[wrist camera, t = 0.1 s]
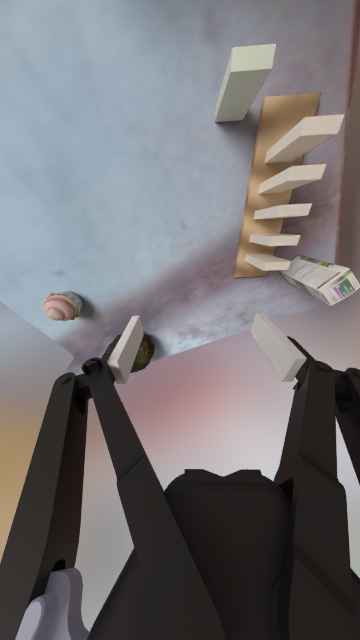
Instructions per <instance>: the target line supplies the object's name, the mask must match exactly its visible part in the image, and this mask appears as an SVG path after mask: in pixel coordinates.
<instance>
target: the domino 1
mask: <svg viewBox="0 0 360 640" xmlns="http://www.w3.org/2000/svg"><path fill="white" fill-rule="evenodd" d="M275 47H276V44H267V45H255V46H244V47H233V48H232V52H231V55H230V59H229V62H228V66H227V69H226V73H225V77H224V80H223V84H222V87H221V91H220V94H219V98H218V101H217V105H216V111H215V122H225V121H239V120H243V119H244V117H245V115H246V113H247V112H248V110H249V108H250V106H251V104H252V103H253V101H254V99H255V97H256V96H257V94H258V92H259V90H260V89H261V87H262V85H263V83H264V81H265V80H266V78H267V76H268V74H269V73H270V71H271V69H272V65H273V59H274V53H275Z"/></svg>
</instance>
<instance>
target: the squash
mask: <svg viewBox="0 0 360 640" xmlns="http://www.w3.org/2000/svg"><path fill="white" fill-rule="evenodd" d="M121 336H122V334H120V335H118V336H117V337H116V338H115V339H114V340H113V341H119V340H120V338H121ZM153 354H154V344H153V343H152V342H151V341H150V340H149V337H148V336H147V335H143V338H142V341H141V343H140V346H139V349H138V352H137V355H136V357H135V360H134V363H133V366H132V369H131V371H130V373H132V372H137V371H139V370H143V369H144V368H145V367H146V366H147V365H148V364H149V362H150V359H151V358H152V356H153Z"/></svg>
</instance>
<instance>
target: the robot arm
mask: <svg viewBox="0 0 360 640" xmlns="http://www.w3.org/2000/svg"><path fill="white" fill-rule="evenodd" d="M250 332H251V334H252V335H253V337H254V339H255V340H256V342H257V343H258V345H259V346H260V348H261V349H262V351H263V352H264V354H265V355H266V357H267V359H268V360H269V362H270V363H271V364H272V366H273V368H274V369H275V371H276V372H277V374H278V375H279V377H280V378H281V380H282V381H283V382H285V381H293V379H294V378H295V377H296V379H297V380H298V382H297V383H296V385H295V386H294V388H293V389H295V393H294V398H293V403H292V408H291V412H290V417H289V422H288V427H287V432H286V437H285V441H284V446H283V451H282V456H281V461H280V465H279V469H278V471H277V473H276V475H275V478H274V482H273V481H272V480H270V479H268V478H267V477H265V476H263V475H262V474H261V471H260V470H239V471H237V472H234V473H232V474H229V475H227V476H224V477H222V476H219V475H217V474H214V473H211V472H209V471H206V470H203V469H185V473H184V474H182V475H180V476H179V477H176V478H175V479H174V480H173V481H172V482H171V483H170V484H169V485H168V487H167V488H166V489H165V491H163V488H162V486H161V485H160V482H159V480H158V478H157V476H156V474H155V472H154V470H153V468H152V465H151V463H150V461H149V459H148V457H147V455H146V453H145V451H144V448H143V446H142V444H141V442H140V440H139V438H138V436H137V433H136V431H135V429H134V427H133V425H132V423H131V421H130V418H129V416H128V414H127V412H126V410H125V408H124V406H123V403H122V401H121V399H120V397H119V395H118V393H117V391H116V389H115V386H114V382H115V380H116V382H117V384H125V383H126V382H127V379H128V377H129V374H130V371H131V369H132V366H133V363H134V360H135V357H136V355H137V352H138V349H139V346H140V343H141V341H142V338H143V335H144V334H143V330H142V325H141V321H140V317H139V316H132V318H131V320H130V322H129V323H128V325H127V327H126V329H125V331H124V332H123V334H122V336H121V338H120V340H119V341H113V342H112V343H111V344H110V345H109V346H108V348H107V350H106V351H105V353H104V354H103V356H102V358H101V359H100V358H97V357H95V358H91V359H89V360H87V361H86V362H85V363H84V364H83V365H82V370H83V372H84V374H81V375H77V376H76V375H75V374H74V373H71V372H70V373H66V374H63V375H62V376H60V377H59V378H58V379H57V380H56V381H55V383H54V386H53V389H52V392H51V396H50V399H49V402H48V405H47V409H46V412H45V415H44V419H43V422H42V426H41V429H40V432H39V436H38V439H37V442H36V446H35V449H34V453H33V456H32V459H31V463H30V466H29V469H28V473H27V476H26V479H25V483H24V486H23V490H22V493H21V496H20V499H19V503H18V506H17V510H16V513H15V516H14V520H13V523H12V526H11V530H10V533H9V536H8V540H7V543H6V547H5V550H4V553H3V557H2V560H1V564H0V640H360V578H359V577H358V576H357V575H356V574H355V573H354V571H353V570H352V569H351V568H350V552H349V535H348V519H347V502H346V493H345V489H344V487H343V485H342V484H341V483H340V482H339V481H338V479H337V456H336V423H335V422H336V419H337V422H338V424H339V427H340V430H341V433H342V436H343V438H344V441H345V444H346V447H347V450H348V453H349V455H350V458H351V461H352V464H353V467H354V470H355V472H356V476H357V478H358V481H359V484H360V370H359V369H356V368H348V369H347V370H346V371H345V372H343V371H339V370H334V369H332V368H331V367H330V366H329V365H327V364H325V363H323V362H320V361H316V360H315V359H314V358H313V357H312V356H311V355H310V354H309V353H308V352H307V351H306V350H305V349H303V347H302V346H301V345H299V343H298V342H296V340H294V339H292V338H291V337H286V336H285V335H284V334H283V333H282V332H281V331H280V330H279V329H278V328H277V327H276V326H275V324H274V323H273V322H272V321H271V320H270V319H269V318H268V317H267V316H266V315H265V314H264V313H263V312H256V314H255V317H254V321H253V324H252V328H251V331H250ZM90 398H93V400H94V403H95V407H96V410H97V413H98V416H99V420H100V423H101V427H102V430H103V433H104V436H105V440H106V443H107V446H108V449H109V453H110V456H111V460H112V463H113V466H114V469H115V473H116V476H117V488H118V492H119V496H120V499H121V503H122V506H123V509H124V513H125V517H126V520H127V523H128V527H129V530H130V534H131V537H132V541H133V544H134V549H133V551H132V553H131V555H130V556H129V558H128V560H127V562H126V564H125V566H124V568H123V570H122V572H121V573H120V575H119V577H118V579H117V581H116V583H115V585H114V586H113V588H112V590H111V592H110V594H109V596H108V598H107V599H106V602H105V603H104V605H103V607H102V609H101V611H100V613H99V615H98V616H97V618H96V620H95V622H94V624H93V627H92V628H91V631H90V632H89V631H88V630H87V629H86V628H85V627H84V624H83V621H82V616H81V601H82V590H83V582H82V576H81V574H80V572H79V571H78V570H77V569H76V568H74V566H75V561H76V555H77V549H78V543H79V534H80V524H81V508H82V493H83V477H84V461H85V446H86V430H87V414H88V399H90ZM335 416H336V419H335Z"/></svg>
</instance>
